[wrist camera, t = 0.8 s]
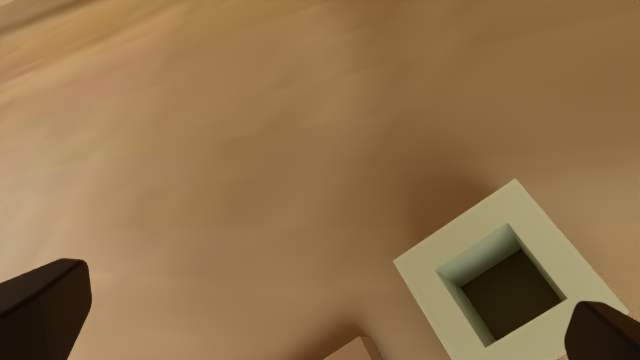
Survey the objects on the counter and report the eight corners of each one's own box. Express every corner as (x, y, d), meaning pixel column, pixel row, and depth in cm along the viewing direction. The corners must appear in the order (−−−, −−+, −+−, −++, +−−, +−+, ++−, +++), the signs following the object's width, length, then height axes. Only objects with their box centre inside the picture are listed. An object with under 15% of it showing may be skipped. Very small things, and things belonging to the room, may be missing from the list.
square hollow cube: (619, 323, 20) (629, 312, 16) (496, 393, 21) (475, 400, 17) (527, 211, 23) (515, 177, 19) (424, 278, 24) (392, 261, 20)
